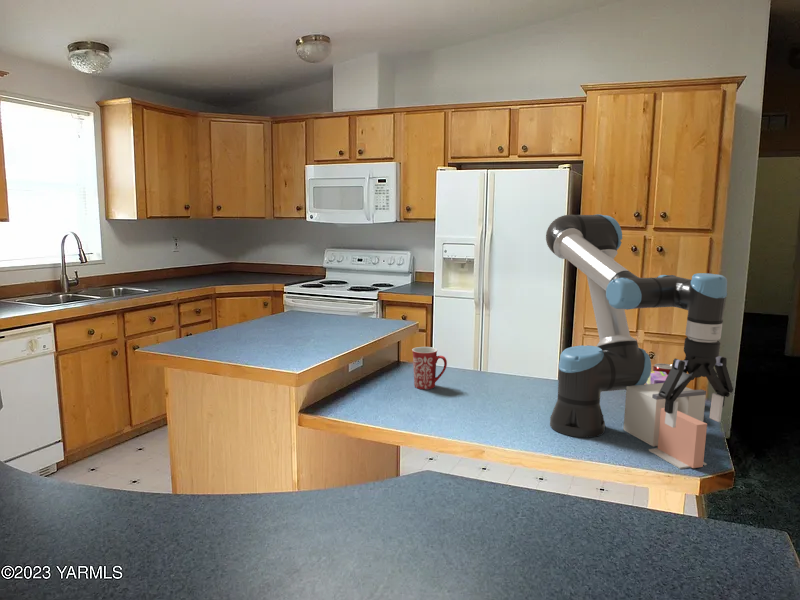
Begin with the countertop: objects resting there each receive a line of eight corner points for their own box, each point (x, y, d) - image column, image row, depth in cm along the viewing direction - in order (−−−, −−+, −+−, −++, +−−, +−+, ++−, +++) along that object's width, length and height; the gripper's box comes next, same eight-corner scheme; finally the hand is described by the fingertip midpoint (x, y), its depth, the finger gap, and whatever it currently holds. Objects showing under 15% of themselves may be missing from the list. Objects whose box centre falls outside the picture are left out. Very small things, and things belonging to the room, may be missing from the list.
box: (670, 418, 172) (674, 381, 170) (650, 417, 173) (653, 379, 171) (662, 407, 182) (665, 371, 180) (643, 405, 183) (646, 370, 181)
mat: (679, 468, 138) (680, 467, 138) (648, 450, 148) (648, 449, 148) (706, 465, 140) (706, 463, 140) (673, 447, 151) (673, 446, 151)
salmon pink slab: (693, 468, 138) (697, 425, 136) (657, 448, 149) (660, 408, 147) (702, 466, 138) (707, 423, 137) (666, 447, 150) (670, 407, 148)
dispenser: (652, 446, 151) (656, 396, 149) (623, 429, 163) (626, 382, 160) (701, 440, 156) (706, 391, 153) (669, 424, 167) (673, 378, 165)
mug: (407, 388, 199) (407, 350, 197) (417, 381, 207) (418, 345, 205) (440, 393, 194) (441, 355, 192) (450, 386, 202) (451, 349, 200)
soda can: (669, 398, 191) (672, 363, 189) (677, 405, 184) (681, 369, 182) (647, 397, 192) (650, 362, 190) (654, 404, 184) (657, 368, 183)
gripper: (671, 345, 128) (661, 433, 132) (757, 339, 135) (745, 423, 139) (648, 337, 135) (639, 421, 139) (730, 332, 142) (720, 412, 146)
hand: (692, 422), depth 139 cm, fingers open, 13 cm apart
